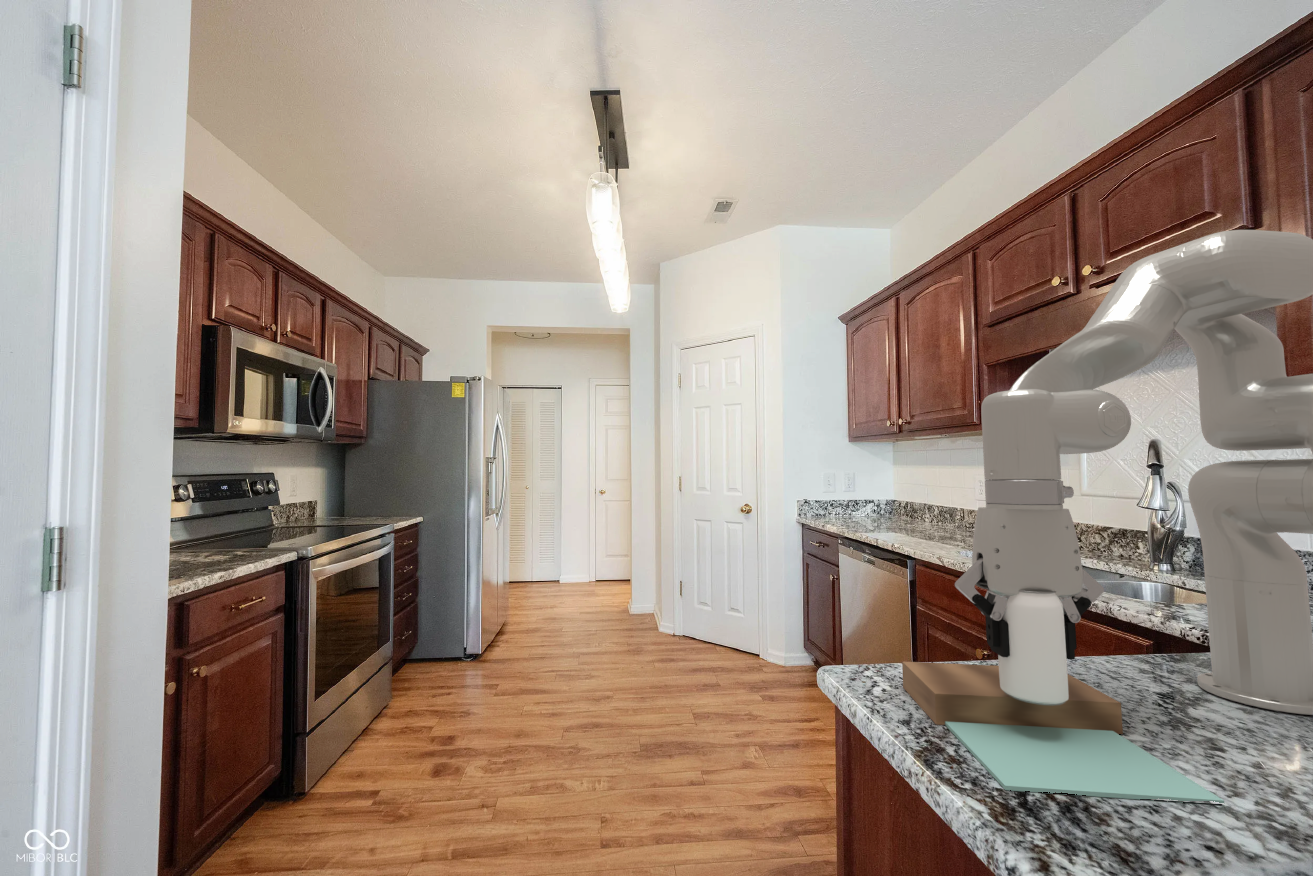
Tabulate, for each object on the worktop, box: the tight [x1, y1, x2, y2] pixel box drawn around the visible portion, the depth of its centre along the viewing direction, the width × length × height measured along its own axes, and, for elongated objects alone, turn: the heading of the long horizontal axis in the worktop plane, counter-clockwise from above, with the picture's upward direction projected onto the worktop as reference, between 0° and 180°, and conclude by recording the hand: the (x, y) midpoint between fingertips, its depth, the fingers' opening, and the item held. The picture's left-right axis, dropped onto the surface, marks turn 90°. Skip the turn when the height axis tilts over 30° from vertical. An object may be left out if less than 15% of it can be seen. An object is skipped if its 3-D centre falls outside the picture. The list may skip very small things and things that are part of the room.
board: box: [901, 661, 1124, 735], centre depth 69 cm, size 20×12×4 cm, turn 83°
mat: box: [944, 721, 1226, 805], centre depth 56 cm, size 18×14×1 cm
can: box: [997, 590, 1069, 706], centre depth 63 cm, size 6×6×12 cm
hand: (1031, 653), depth 63 cm, fingers closed on can, 6 cm apart
